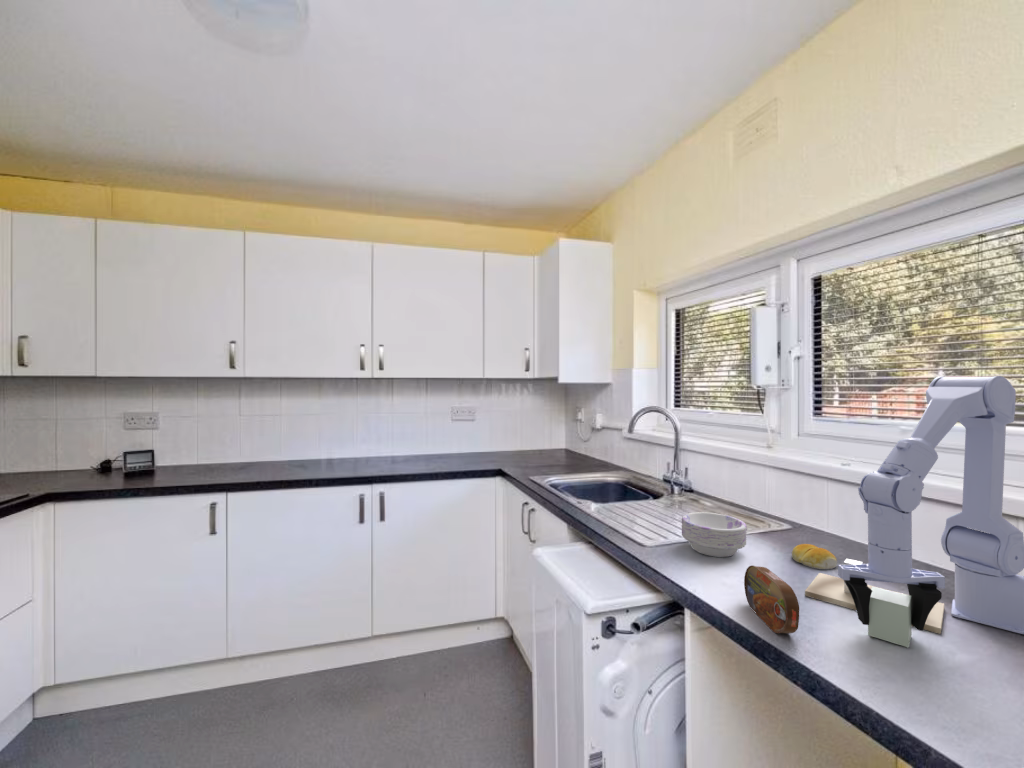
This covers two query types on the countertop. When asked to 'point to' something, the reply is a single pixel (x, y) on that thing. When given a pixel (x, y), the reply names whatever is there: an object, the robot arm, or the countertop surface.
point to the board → (834, 593)
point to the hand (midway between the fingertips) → (889, 624)
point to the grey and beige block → (850, 562)
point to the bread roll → (814, 556)
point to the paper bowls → (714, 533)
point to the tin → (772, 599)
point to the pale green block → (890, 616)
